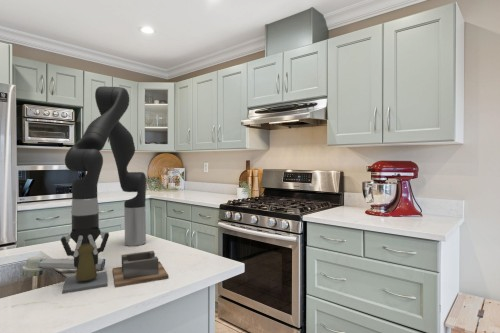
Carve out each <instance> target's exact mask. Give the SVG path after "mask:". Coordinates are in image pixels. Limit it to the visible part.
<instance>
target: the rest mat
mask: <svg viewBox="0 0 500 333" xmlns="http://www.w3.org/2000/svg"><path fill="white" fill-rule="evenodd" d="M108 282H109V281H108V273H107V271H99V272H97V277H95V278H93V279H90V280H83V281H79V280H76V275H73V276H71V275H70V276H66V277H65V280H64V283H63V287H62V291H61V294H68V292H69V293H73V292H81V291H86V290H94V289H98V288H106V287H108V286H109V285H108V284H109V283H108Z"/></svg>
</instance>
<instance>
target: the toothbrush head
mask: <svg viewBox="0 0 500 333" xmlns="http://www.w3.org/2000/svg"><path fill="white" fill-rule="evenodd" d="M25 262H26V263H25V265H23V266H22V267H21V270H22V276H23V277H27V278H34V277H39V276H42V275H43V272H44V270H45V269H56V270H58V269H60V270H77V267H74V257H73V258H42V256H41V257H39V256H30V257H28V258H27V259H26V261H25ZM105 265H106V258H98V264H96V271H103V270H104V269H105Z"/></svg>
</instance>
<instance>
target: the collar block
mask: <svg viewBox="0 0 500 333" xmlns="http://www.w3.org/2000/svg"><path fill="white" fill-rule="evenodd" d="M112 275H113V281H114V288H119V287H125V286H130V285H131V286H132V285H136V284H144V283H149V282H155V281H162V280H166V279H169V273H168V272H167V270H166V269H165V267H164V266H163V264H162V263H161V261H160V260H159V257H158V256H156V253H155V251H154V250H149V251H141V252H134V253H126V254H121V266H118V267H113V268H112Z"/></svg>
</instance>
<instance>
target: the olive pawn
mask: <svg viewBox="0 0 500 333" xmlns="http://www.w3.org/2000/svg"><path fill="white" fill-rule="evenodd" d="M78 246H79V245H78ZM93 251H94V248H93V246H92V245H91V244H90V243H83V244H81V246H80V247H79V249H78V253H79V263H78V268H77V269H76V274H75V276H76V280H79V281H83V280H90V279H93V278H95V277H97V273H98V272H97V271H98V270H96V266H95V264H94V259H93V255H94V253H93Z"/></svg>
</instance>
